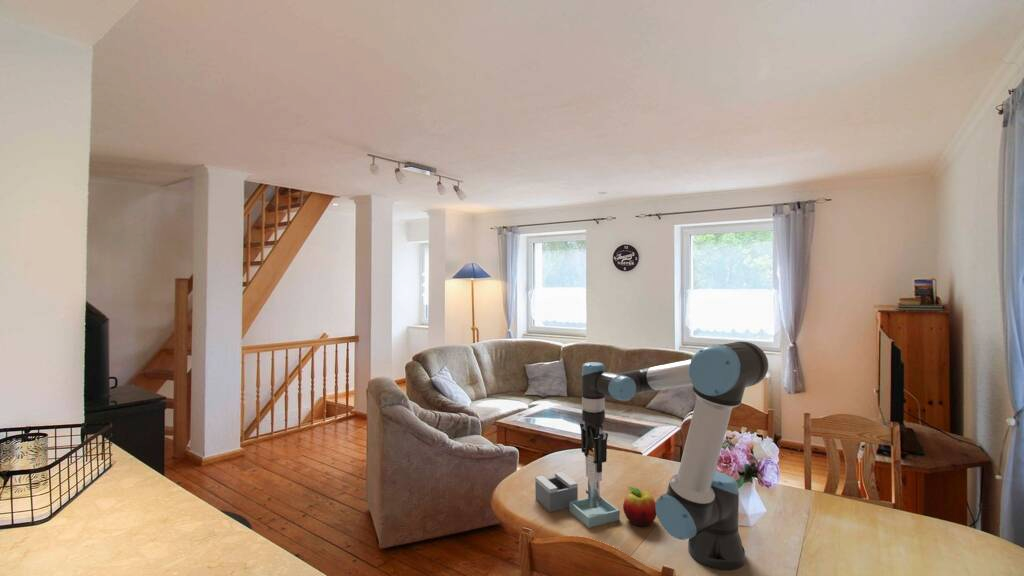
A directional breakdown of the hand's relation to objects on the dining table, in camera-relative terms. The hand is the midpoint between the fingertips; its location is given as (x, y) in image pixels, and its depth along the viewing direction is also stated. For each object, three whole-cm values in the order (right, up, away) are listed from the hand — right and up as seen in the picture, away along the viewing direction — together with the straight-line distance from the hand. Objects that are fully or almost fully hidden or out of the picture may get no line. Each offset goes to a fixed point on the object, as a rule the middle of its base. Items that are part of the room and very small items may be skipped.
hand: (593, 478), depth 161 cm
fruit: (+15, -13, -4) cm, 20 cm away
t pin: (0, -9, 0) cm, 9 cm away
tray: (0, -13, 0) cm, 13 cm away
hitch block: (-12, -13, +10) cm, 20 cm away
